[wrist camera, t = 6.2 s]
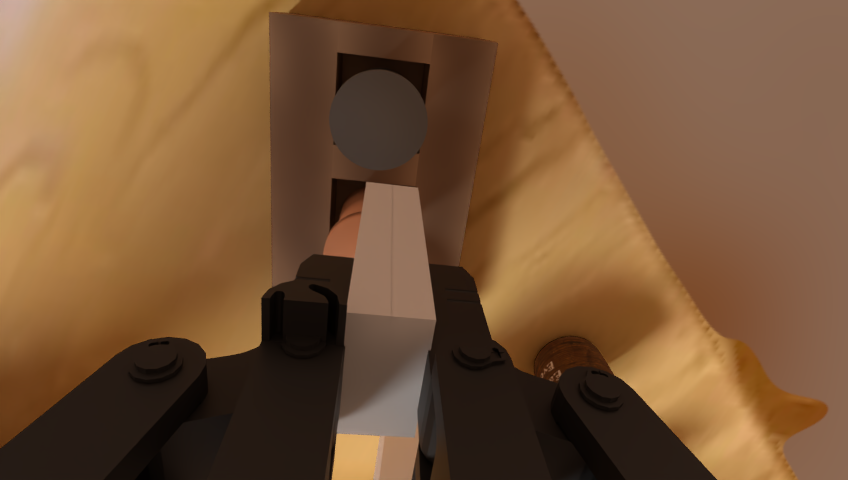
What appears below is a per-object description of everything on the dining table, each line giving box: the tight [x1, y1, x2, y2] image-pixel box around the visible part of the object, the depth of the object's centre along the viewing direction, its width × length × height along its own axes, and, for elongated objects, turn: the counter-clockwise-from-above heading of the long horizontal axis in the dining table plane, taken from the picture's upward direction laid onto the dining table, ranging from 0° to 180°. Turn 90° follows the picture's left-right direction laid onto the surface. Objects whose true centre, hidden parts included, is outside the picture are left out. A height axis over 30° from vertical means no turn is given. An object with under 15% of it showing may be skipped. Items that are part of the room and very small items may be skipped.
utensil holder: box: [534, 336, 614, 383], centre depth 36 cm, size 6×6×12 cm
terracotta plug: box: [323, 187, 366, 258], centre depth 28 cm, size 5×5×6 cm
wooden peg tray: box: [269, 12, 498, 287], centre depth 32 cm, size 12×22×5 cm, turn 173°
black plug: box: [329, 68, 428, 170], centre depth 25 cm, size 5×5×6 cm
